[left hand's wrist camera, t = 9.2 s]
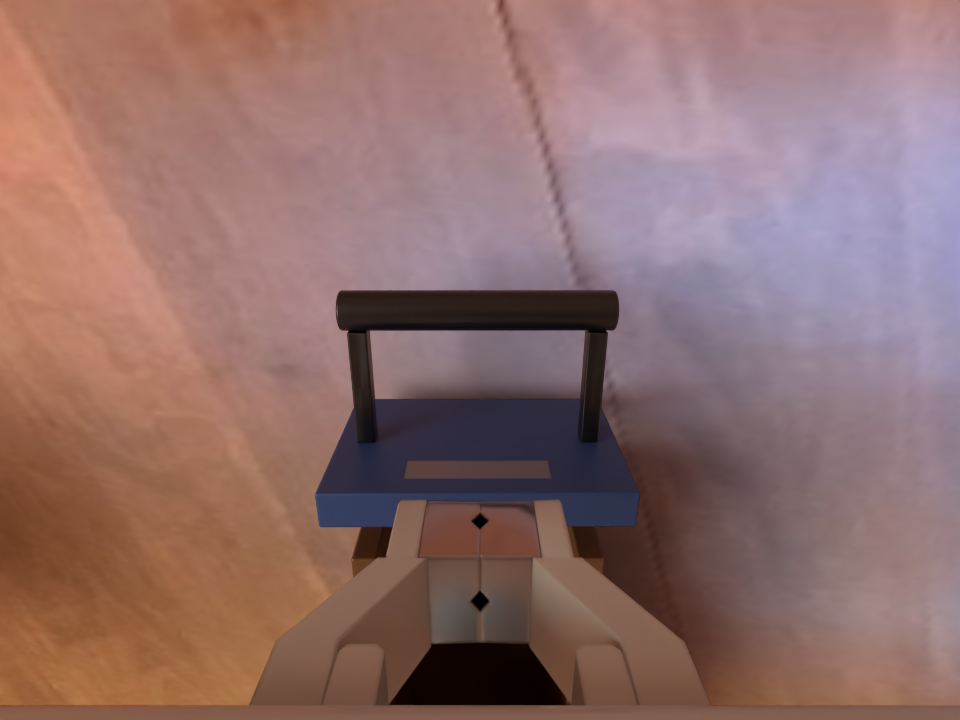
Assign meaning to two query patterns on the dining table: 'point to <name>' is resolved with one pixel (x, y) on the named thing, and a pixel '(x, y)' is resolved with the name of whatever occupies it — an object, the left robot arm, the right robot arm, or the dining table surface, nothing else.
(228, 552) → the dining table surface
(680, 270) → the dining table surface
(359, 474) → the drawer
